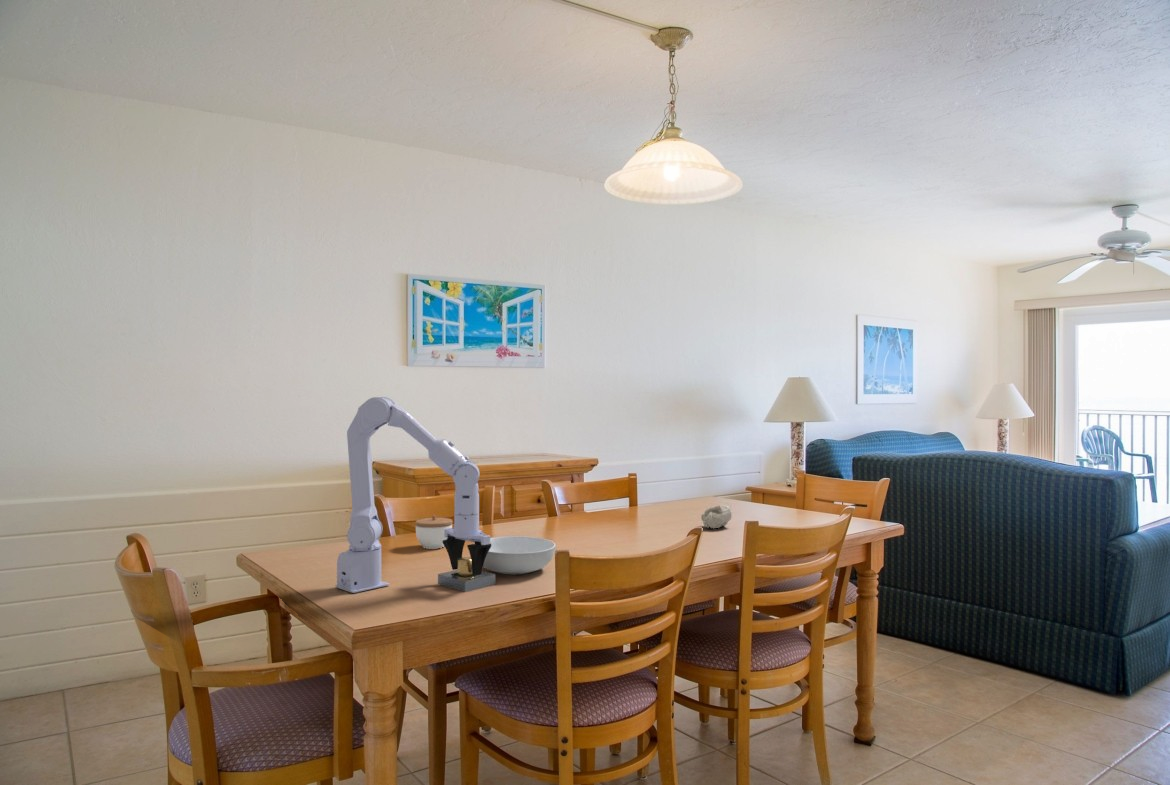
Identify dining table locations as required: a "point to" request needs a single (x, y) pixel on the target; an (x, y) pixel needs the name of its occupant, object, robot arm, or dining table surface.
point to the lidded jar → (432, 531)
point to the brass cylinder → (465, 567)
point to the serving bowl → (518, 554)
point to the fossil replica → (716, 516)
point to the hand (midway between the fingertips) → (466, 571)
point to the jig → (466, 580)
